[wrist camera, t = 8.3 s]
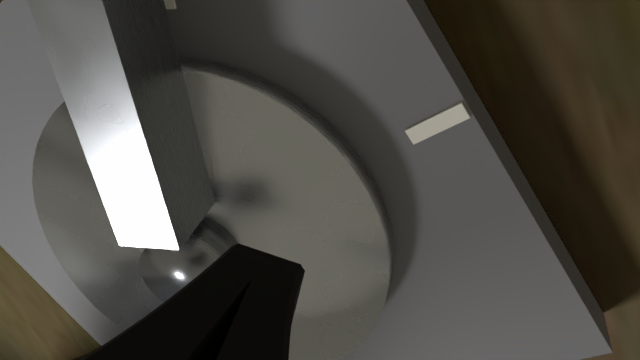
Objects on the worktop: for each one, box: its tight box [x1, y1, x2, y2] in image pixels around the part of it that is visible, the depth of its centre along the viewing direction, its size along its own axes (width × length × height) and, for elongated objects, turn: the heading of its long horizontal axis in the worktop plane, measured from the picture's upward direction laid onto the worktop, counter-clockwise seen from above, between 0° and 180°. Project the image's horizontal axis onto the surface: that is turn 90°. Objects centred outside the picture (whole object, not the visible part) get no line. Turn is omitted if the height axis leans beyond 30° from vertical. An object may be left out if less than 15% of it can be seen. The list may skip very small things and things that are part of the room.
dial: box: [27, 0, 394, 360], centre depth 17 cm, size 18×13×4 cm
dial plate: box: [0, 0, 613, 360], centre depth 21 cm, size 20×20×2 cm
